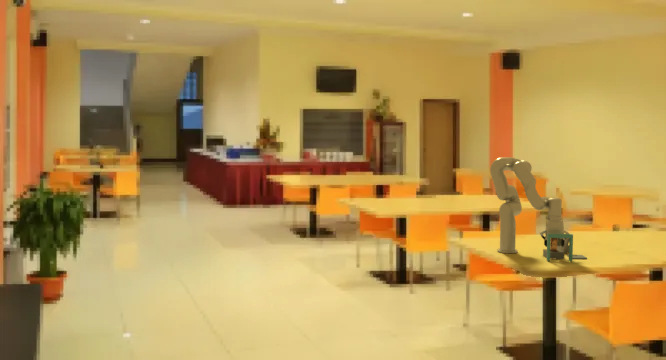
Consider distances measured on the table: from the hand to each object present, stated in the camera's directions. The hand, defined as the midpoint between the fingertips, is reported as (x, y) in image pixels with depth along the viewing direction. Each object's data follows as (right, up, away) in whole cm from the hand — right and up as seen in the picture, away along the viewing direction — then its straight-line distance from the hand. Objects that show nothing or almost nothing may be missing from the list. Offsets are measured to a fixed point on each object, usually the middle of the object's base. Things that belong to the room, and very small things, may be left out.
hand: (554, 246), depth 419 cm
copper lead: (0, -7, +1) cm, 7 cm away
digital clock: (+10, -6, +19) cm, 23 cm away
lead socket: (0, -7, +1) cm, 7 cm away
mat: (+14, -7, 0) cm, 15 cm away
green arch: (-1, -8, -12) cm, 14 cm away
